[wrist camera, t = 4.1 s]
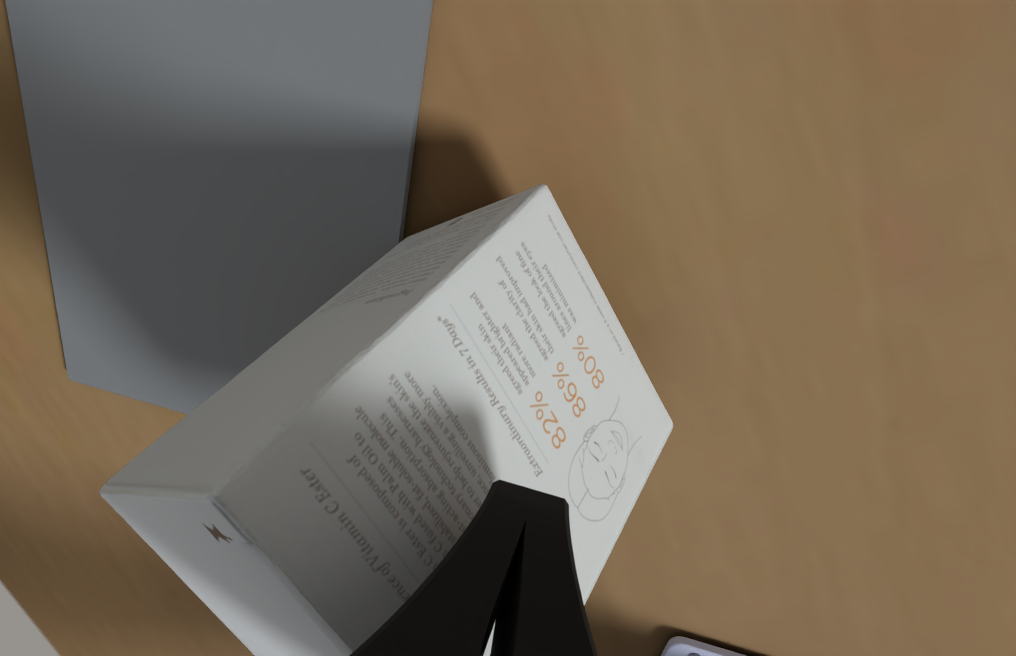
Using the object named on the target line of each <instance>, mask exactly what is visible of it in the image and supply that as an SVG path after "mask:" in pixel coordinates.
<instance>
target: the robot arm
mask: <svg viewBox="0 0 1016 656" xmlns="http://www.w3.org/2000/svg"><path fill="white" fill-rule="evenodd" d="M494 623H495V627H494V633H493V640H492V646H491V653H490V656H597V652H596V649H595V646H594V642H593V639H592V635H591V632H590V628H589V624H588V620H587V616H586V612H585V608H584V604H583V599H582V595H581V590H580V586H579V581H578V576H577V571H576V566H575V560H574V554H573V547H572V540H571V532H570V521H569V504H568V503H567V501H566V500H565V498H561V497H558V496H554V495H551V494H547V493H544V492H541V491H537V490H534V489H530V488H527V487H523V486H520V485H517V484H513V483H510V482H506V481H503V480H498V481H495V482H493V483H492V485H491V488H490V490H489V492H488V494H487V496H486V498H485V500H484V502H483V503H482V505H481V507H480V508H479V510H478V512H477V513H476V515H475V516H474V518H473V519H472V521H471V522H470V524H469V525H468V527H467V528H466V530H465V531H464V532H463V534H462V535H461V536H460V538H459V539H458V540H457V542H456V543H455V544H454V545H453V547H452V548H451V549H450V551H449V552H448V553H447V555H446V556H445V557H444V559H443V560H442V561H441V562H440V563H439V565H438V566H437V567H436V568H435V569H434V570H433V572H432V573H431V574H430V575H429V576H428V577H427V578H426V579H425V581H424V582H423V583H422V584H421V585H420V586H419V587H418V589H417V590H416V591H415V592H414V593H413V594H412V595H411V596H410V598H409V599H408V600H407V601H406V602H405V603H404V604H403V605H402V606H401V607H400V608H399V609H398V610H397V611H396V612H395V613H394V614H393V615H392V616H391V617H390V618H389V619H388V620H387V621H386V622H385V623H384V624H383V625H382V626H381V627H380V628H379V629H378V630H377V631H376V632H375V633H374V634H373V635H372V636H371V637H369V638H368V639H367V640H366V641H365V642H364V643H363V644H362V645H361V646H359V647H358V648H357V649H356V650H355V651H354V652H353V653H352V654H350V655H349V656H483V655H484V652H485V649H486V646H487V643H488V640H489V638H490V635H491V632H492V629H493V626H494ZM661 656H746V655H743V654H740V653H736V652H733V651H730V650H726V649H723V648H720V647H716V646H713V645H710V644H706V643H703V642H700V641H696V640H693V639H690V638H686V637H682V636H677V637H673V638H671V639H670V640H669V641H668V643H667V644H666V646H665V648H664V650H663V652H662V654H661Z"/></svg>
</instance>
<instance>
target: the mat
mask: <svg viewBox="0 0 1016 656" xmlns="http://www.w3.org/2000/svg"><path fill="white" fill-rule="evenodd" d="M5 2H6V8H7V14H8V20H9V26H10V32H11V38H12V44H13V50H14V56H15V62H16V68H17V74H18V80H19V86H20V92H21V98H22V104H23V110H24V116H25V122H26V128H27V134H28V140H29V146H30V152H31V158H32V164H33V170H34V176H35V182H36V188H37V194H38V200H39V206H40V212H41V218H42V224H43V230H44V236H45V242H46V248H47V254H48V260H49V266H50V272H51V278H52V284H53V290H54V296H55V302H56V308H57V314H58V320H59V326H60V332H61V338H62V344H63V350H64V356H65V362H66V368H67V374H68V380H72V381H75V382H78V383H82V384H85V385H89V386H92V387H96V388H99V389H102V390H106V391H109V392H113V393H116V394H119V395H123V396H126V397H130V398H133V399H137V400H140V401H143V402H147V403H150V404H154V405H157V406H161V407H164V408H167V409H171V410H174V411H178V412H181V413H185V414H189V413H190V412H192V411H193V410H194V409H195V408H197V407H198V406H199V405H200V404H202V403H203V402H204V401H205V400H207V399H208V398H209V397H211V396H212V395H213V394H214V393H216V392H217V391H218V390H220V389H221V388H222V387H223V386H225V385H226V384H227V383H228V382H229V381H231V380H232V379H233V378H234V377H235V376H237V375H238V374H239V373H240V372H241V371H243V370H244V369H245V368H246V367H248V366H249V365H250V364H251V363H253V362H254V361H255V360H256V359H258V358H259V357H260V356H261V355H262V354H264V353H265V352H266V351H267V350H268V349H270V348H271V347H272V346H273V345H274V344H276V343H277V342H278V341H279V340H281V339H282V338H283V337H284V336H285V335H287V334H288V333H289V332H290V331H292V330H293V329H294V328H295V327H297V326H298V325H299V324H300V323H302V322H303V321H304V320H305V319H307V318H308V317H309V316H310V315H312V314H313V313H314V312H315V311H316V310H317V309H319V308H320V307H321V306H322V305H324V304H325V303H326V302H327V301H329V300H330V299H331V298H332V297H334V296H335V295H336V294H337V293H339V292H340V291H341V290H342V289H343V288H345V287H346V286H347V285H348V284H350V283H351V282H352V281H353V280H354V279H356V278H357V277H358V276H359V275H361V274H362V273H363V272H364V271H365V270H367V269H368V268H369V267H371V266H372V265H373V264H374V263H376V262H377V261H378V260H379V259H381V258H382V257H383V256H384V255H385V254H387V253H388V252H389V251H390V250H392V249H393V248H394V247H395V246H396V245H398V244H399V243H400V242H401V241H403V233H404V225H405V217H406V209H407V201H408V194H409V186H410V178H411V170H412V162H413V154H414V146H415V138H416V131H417V123H418V115H419V107H420V99H421V91H422V83H423V75H424V68H425V60H426V52H427V44H428V36H429V28H430V20H431V13H432V5H433V0H5Z"/></svg>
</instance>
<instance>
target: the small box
mask: <svg viewBox="0 0 1016 656" xmlns="http://www.w3.org/2000/svg"><path fill="white" fill-rule="evenodd" d="M672 428H673V423H672V420H671V418H670V416H669V415H668V413H667V411H666V409H665V407H664V405H663V404H662V402H661V400H660V398H659V396H658V394H657V392H656V391H655V389H654V387H653V385H652V383H651V381H650V379H649V377H648V375H647V374H646V372H645V370H644V368H643V366H642V364H641V362H640V361H639V359H638V357H637V355H636V353H635V351H634V349H633V347H632V345H631V343H630V341H629V339H628V337H627V336H626V334H625V332H624V330H623V328H622V326H621V325H620V323H619V321H618V319H617V317H616V315H615V313H614V311H613V309H612V307H611V305H610V303H609V302H608V300H607V298H606V296H605V294H604V292H603V290H602V288H601V286H600V284H599V282H598V281H597V279H596V277H595V275H594V273H593V271H592V269H591V267H590V266H589V264H588V262H587V260H586V258H585V256H584V254H583V253H582V251H581V249H580V247H579V245H578V244H577V242H576V240H575V238H574V236H573V234H572V232H571V230H570V228H569V227H568V225H567V223H566V221H565V219H564V217H563V215H562V213H561V211H560V209H559V208H558V206H557V204H556V202H555V200H554V198H553V196H552V194H551V192H550V190H549V188H548V187H547V186H546V185H545V184H540V185H538V186H535V187H533V188H530V189H528V190H526V191H523V192H521V193H518V194H515V195H513V196H510V197H508V198H505V199H502V200H500V201H497V202H495V203H492V204H490V205H487V206H485V207H482V208H480V209H477V210H474V211H472V212H469V213H467V214H464V215H462V216H459V217H456V218H454V219H451V220H449V221H446V222H444V223H441V224H439V225H436V226H434V227H431V228H429V229H426V230H424V231H421V232H419V233H416V234H414V235H411V236H408V237H407V238H405V239H404V240H403V241H401V242H400V243H399V244H398V245H396V246H395V247H394V248H393V249H392V250H390V251H389V252H388V253H387V254H385V255H384V256H383V257H382V258H381V259H379V260H378V261H377V262H376V263H374V264H373V265H372V266H371V267H369V268H368V269H367V270H365V271H364V272H363V273H362V274H361V275H359V276H358V277H357V278H356V279H354V280H353V281H352V282H351V283H350V284H348V285H347V286H346V287H345V288H343V289H342V290H341V291H340V292H339V293H337V294H336V295H335V296H334V297H332V298H331V299H330V300H329V301H327V302H326V303H325V304H324V305H322V306H321V307H320V308H319V309H317V310H316V311H315V312H314V313H313V314H312V315H310V316H309V317H308V318H307V319H305V320H304V321H303V322H302V323H300V324H299V325H298V326H297V327H295V328H294V329H293V330H292V331H290V332H289V333H288V334H287V335H285V336H284V337H283V338H282V339H281V340H279V341H278V342H277V343H276V344H274V345H273V346H272V347H271V348H270V349H268V350H267V351H266V352H265V353H264V354H262V355H261V356H260V357H259V358H258V359H256V360H255V361H254V362H253V363H251V364H250V365H249V366H248V367H246V368H245V369H244V370H243V371H241V372H240V373H239V374H238V375H237V376H235V377H234V378H233V379H232V380H231V381H229V382H228V383H227V384H226V385H225V386H223V387H222V388H221V389H220V390H218V391H217V392H216V393H214V394H213V395H212V396H211V397H209V398H208V399H207V400H205V401H204V402H203V403H202V404H200V405H199V406H198V407H197V408H195V409H194V410H193V411H192V412H190V413H189V414H188V415H187V416H186V417H184V418H183V419H182V420H181V421H179V422H178V423H177V424H176V425H174V426H173V427H172V428H171V429H169V430H168V431H167V432H166V433H165V434H163V435H162V436H161V437H160V438H159V439H157V440H156V441H155V442H154V443H153V444H151V445H150V446H149V447H148V448H146V449H145V450H144V451H143V452H141V453H140V454H139V455H138V456H136V457H135V458H134V459H133V460H132V461H130V462H129V463H128V464H127V465H126V466H124V467H123V468H122V469H121V470H120V471H118V472H117V473H116V474H115V475H114V476H113V477H112V478H111V479H110V480H108V481H107V482H106V483H105V484H104V485H103V487H102V488H101V490H100V496H101V497H103V498H104V499H105V500H106V501H107V502H108V503H109V504H110V505H111V506H112V507H113V508H114V509H115V511H116V512H117V513H118V514H119V515H120V516H121V517H122V518H123V519H125V520H126V522H127V523H128V524H129V525H130V526H131V527H132V528H133V529H134V530H135V531H136V532H137V533H138V534H139V535H140V537H141V538H142V539H143V540H144V541H145V542H146V543H147V544H148V545H149V546H150V547H151V548H152V549H153V550H154V551H155V552H156V553H157V554H158V555H159V556H160V557H161V558H162V559H163V560H164V561H165V562H166V564H167V565H168V566H169V567H170V568H171V569H172V570H173V571H174V572H175V573H176V574H177V575H178V576H179V577H180V578H181V579H182V580H183V582H184V583H185V584H186V585H187V586H188V587H189V588H190V589H191V590H192V591H193V592H194V593H195V594H196V595H197V596H198V597H199V598H200V599H201V600H202V601H203V602H204V603H205V604H206V605H207V606H208V608H209V609H210V610H211V611H212V612H213V613H214V614H215V615H216V616H217V617H218V618H219V619H220V620H221V621H222V622H223V623H224V624H225V625H226V626H227V627H228V628H229V629H230V630H231V632H232V633H233V634H234V635H235V636H236V637H237V638H238V639H239V640H240V641H241V642H242V643H243V644H244V645H245V646H246V647H247V648H248V649H249V650H250V651H251V652H252V653H253V654H254V655H255V656H349V655H350V654H352V653H353V652H354V651H355V650H356V649H357V648H358V647H359V646H361V645H362V644H363V643H364V642H365V641H366V640H367V639H368V638H369V637H371V636H372V635H373V634H374V633H375V632H376V631H377V630H378V629H379V628H380V627H381V626H382V625H383V624H384V623H385V622H386V621H387V620H388V619H389V618H390V617H391V616H392V615H393V614H394V613H395V612H396V611H397V610H398V609H399V608H400V607H401V606H402V605H403V604H404V603H405V602H406V601H407V600H408V599H409V598H410V596H411V595H412V594H413V593H414V592H415V591H416V590H417V589H418V587H419V586H420V585H421V584H422V583H423V582H424V581H425V579H426V578H427V577H428V576H429V575H430V574H431V573H432V572H433V570H434V569H435V568H436V567H437V566H438V565H439V563H440V562H441V561H442V560H443V559H444V557H445V556H446V555H447V553H448V552H449V551H450V549H451V548H452V547H453V545H454V544H455V543H456V542H457V540H458V539H459V538H460V536H461V535H462V534H463V532H464V531H465V530H466V528H467V527H468V525H469V524H470V522H471V521H472V519H473V518H474V516H475V515H476V513H477V512H478V510H479V508H480V507H481V505H482V503H483V502H484V500H485V498H486V496H487V494H488V492H489V490H490V488H491V485H492V483H493V482H495V481H498V480H503V481H506V482H510V483H513V484H517V485H520V486H523V487H527V488H530V489H534V490H537V491H541V492H544V493H547V494H551V495H554V496H558V497H561V498H565V500H566V501H567V503H568V504H569V521H570V532H571V540H572V547H573V554H574V560H575V566H576V571H577V576H578V581H579V586H580V590H581V595H582V599H583V604H584V605H585V603H586V601H587V599H588V597H589V595H590V593H591V591H592V589H593V587H594V585H595V583H596V581H597V579H598V577H599V575H600V573H601V571H602V569H603V567H604V565H605V563H606V561H607V559H608V557H609V555H610V553H611V551H612V549H613V547H614V545H615V543H616V541H617V539H618V537H619V535H620V533H621V531H622V529H623V526H624V524H625V522H626V520H627V518H628V516H629V515H630V513H631V511H632V509H633V507H634V505H635V503H636V500H637V498H638V496H639V494H640V492H641V490H642V488H643V487H644V485H645V482H646V480H647V478H648V476H649V474H650V472H651V470H652V468H653V466H654V464H655V462H656V460H657V458H658V457H659V454H660V452H661V450H662V448H663V446H664V445H665V443H666V440H667V438H668V436H669V434H670V433H671V431H672ZM494 627H495V623H494V626H493V629H492V632H491V635H490V638H489V640H488V643H487V646H486V649H485V652H484V655H483V656H490V653H491V646H492V640H493V633H494Z"/></svg>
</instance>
